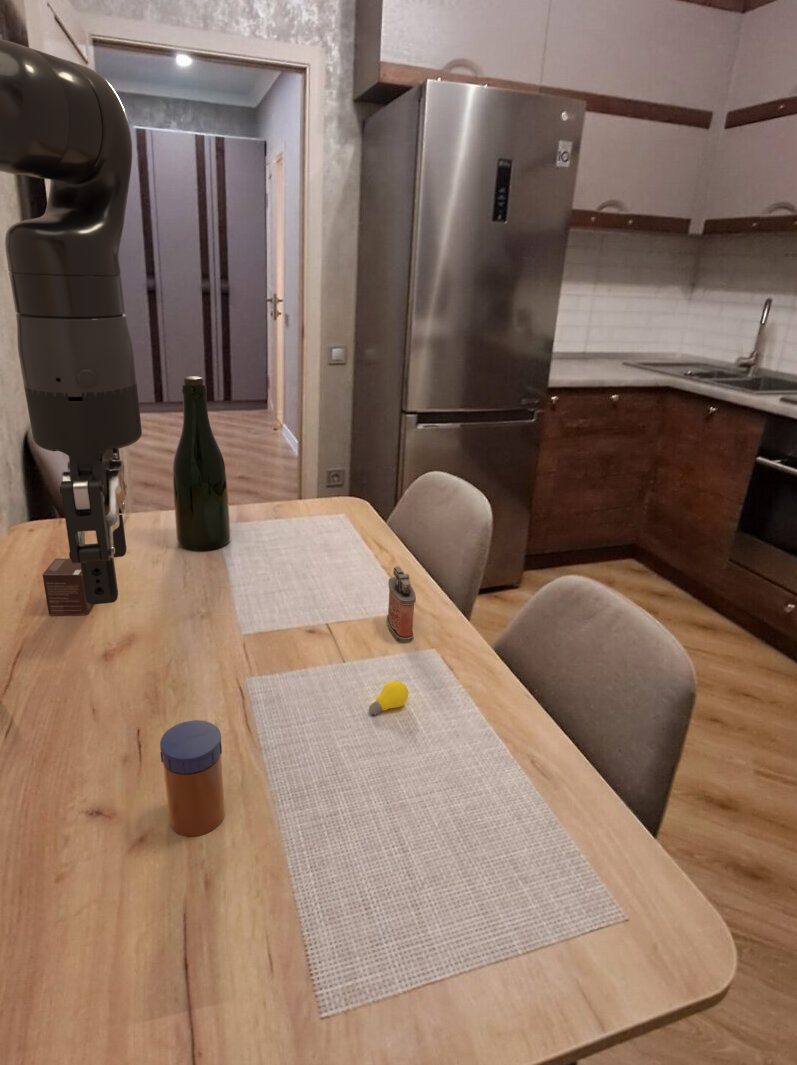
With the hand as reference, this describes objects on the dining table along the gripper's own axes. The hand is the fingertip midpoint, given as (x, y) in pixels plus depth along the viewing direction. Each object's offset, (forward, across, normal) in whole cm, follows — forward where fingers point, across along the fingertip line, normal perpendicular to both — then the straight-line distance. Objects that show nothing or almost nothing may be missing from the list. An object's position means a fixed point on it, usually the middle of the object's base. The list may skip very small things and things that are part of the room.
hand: (108, 577), depth 55 cm
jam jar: (+30, -3, +5) cm, 30 cm away
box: (+30, -52, -13) cm, 62 cm away
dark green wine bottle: (+30, -76, +8) cm, 82 cm away
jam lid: (+20, -3, +5) cm, 21 cm away
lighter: (+30, -34, +37) cm, 58 cm away
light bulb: (+30, -16, +29) cm, 45 cm away
